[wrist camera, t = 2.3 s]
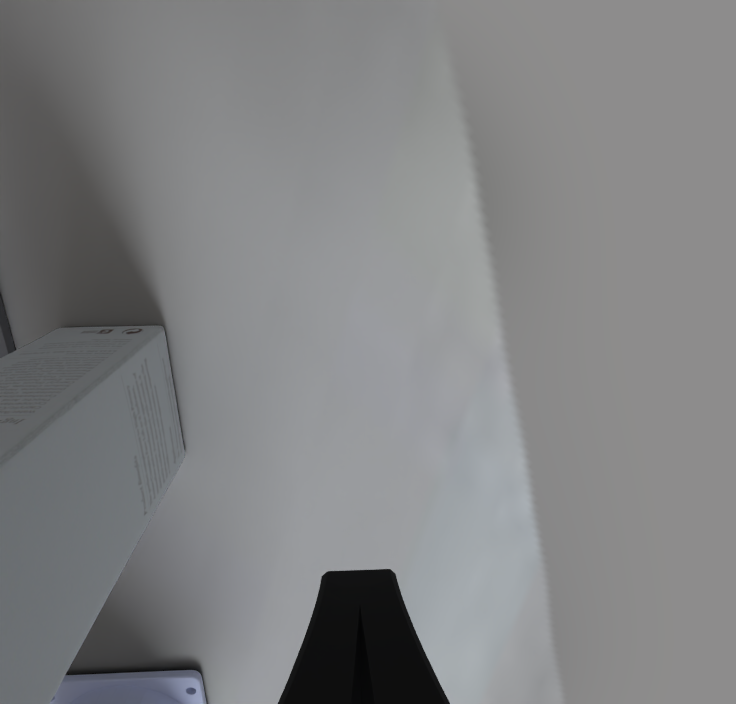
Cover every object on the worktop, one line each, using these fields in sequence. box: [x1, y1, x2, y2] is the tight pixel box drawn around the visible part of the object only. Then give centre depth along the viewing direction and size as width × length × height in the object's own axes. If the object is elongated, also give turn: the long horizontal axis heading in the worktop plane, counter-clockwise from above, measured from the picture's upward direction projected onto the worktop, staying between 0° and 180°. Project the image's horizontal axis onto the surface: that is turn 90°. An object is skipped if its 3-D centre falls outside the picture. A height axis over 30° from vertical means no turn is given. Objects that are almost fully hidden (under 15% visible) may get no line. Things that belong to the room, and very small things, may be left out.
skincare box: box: [0, 326, 185, 704], centre depth 13 cm, size 6×4×12 cm
